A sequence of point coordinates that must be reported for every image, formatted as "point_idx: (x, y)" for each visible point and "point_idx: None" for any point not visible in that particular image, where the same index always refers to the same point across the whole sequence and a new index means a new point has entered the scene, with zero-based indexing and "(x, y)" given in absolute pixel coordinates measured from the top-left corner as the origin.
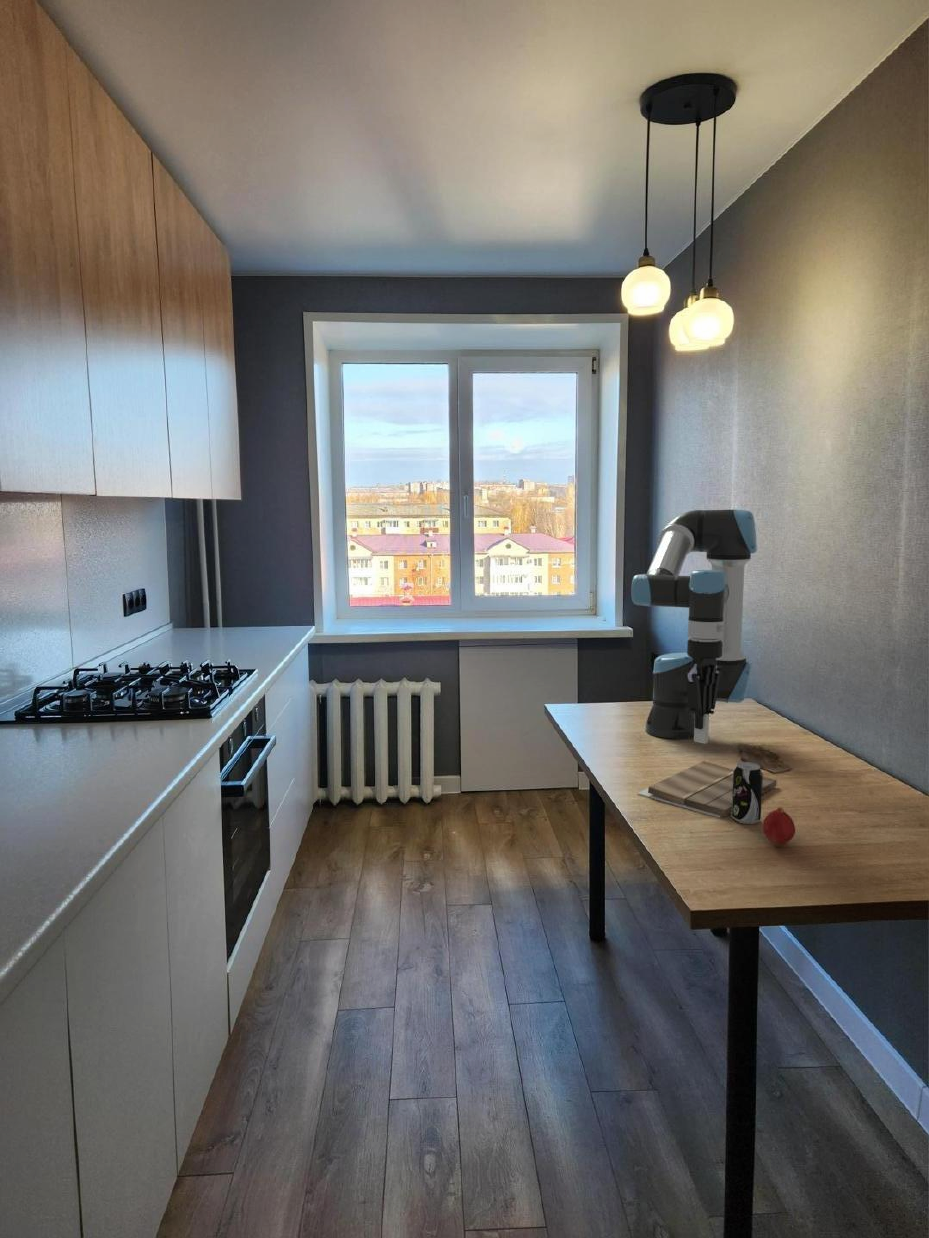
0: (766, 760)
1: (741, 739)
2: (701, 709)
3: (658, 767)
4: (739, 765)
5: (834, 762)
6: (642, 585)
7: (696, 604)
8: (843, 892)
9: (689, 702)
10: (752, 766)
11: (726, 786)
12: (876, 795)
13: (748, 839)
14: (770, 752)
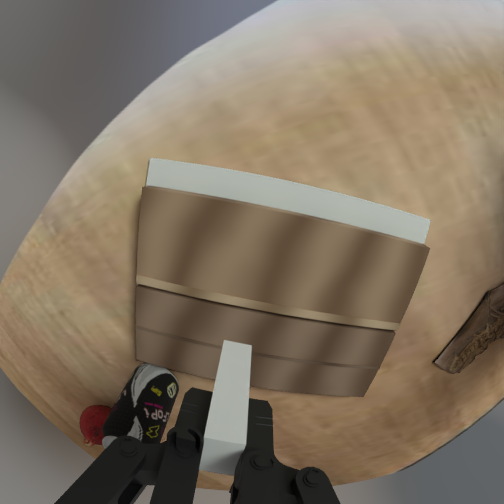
0: (487, 329)
1: None
2: (143, 487)
3: (385, 133)
4: (113, 439)
5: (485, 394)
6: None
7: None
8: (74, 436)
9: (82, 479)
10: None
11: (274, 340)
12: (369, 461)
13: (99, 381)
14: None
